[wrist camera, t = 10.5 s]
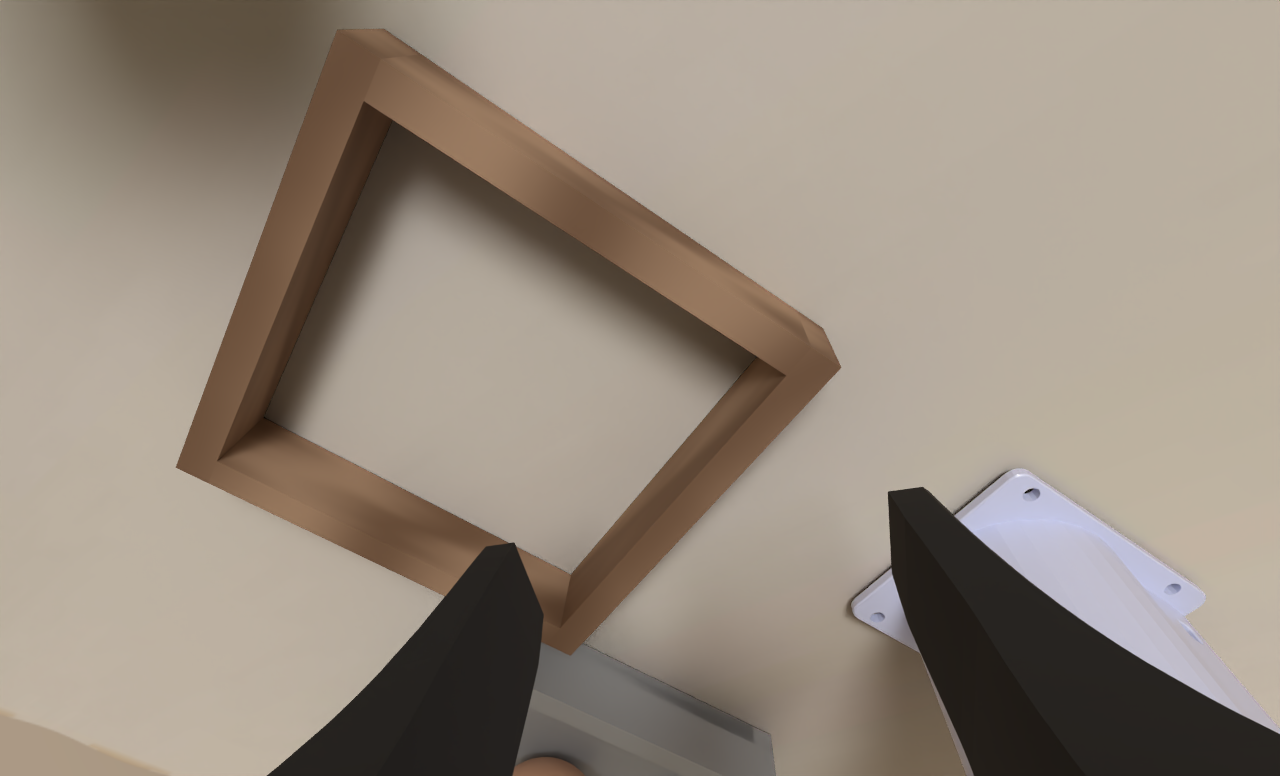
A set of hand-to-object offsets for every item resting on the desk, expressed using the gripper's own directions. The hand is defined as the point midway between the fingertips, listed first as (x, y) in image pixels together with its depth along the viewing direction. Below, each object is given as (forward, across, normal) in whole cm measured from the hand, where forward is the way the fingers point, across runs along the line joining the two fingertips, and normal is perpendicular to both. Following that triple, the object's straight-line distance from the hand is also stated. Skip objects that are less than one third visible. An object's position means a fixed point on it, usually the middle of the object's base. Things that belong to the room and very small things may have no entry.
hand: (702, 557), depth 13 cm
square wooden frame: (+8, +6, 0) cm, 10 cm away
